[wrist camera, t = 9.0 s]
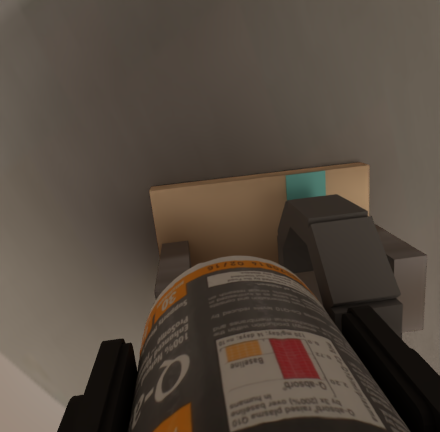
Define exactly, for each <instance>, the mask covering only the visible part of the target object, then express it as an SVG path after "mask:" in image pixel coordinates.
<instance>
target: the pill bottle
mask: <svg viewBox="0 0 440 432" xmlns="http://www.w3.org/2000/svg"><path fill="white" fill-rule="evenodd" d="M128 432H410V430H409V429H408V427H407V426H406V424H405V423H404V421H403V420H402V419H401V417H400V416H399V415H398V413H397V412H396V410H395V409H394V407H393V406H392V404H391V403H390V402H389V400H388V399H387V397H386V396H385V394H384V393H383V391H382V390H381V388H380V387H379V386H378V384H377V383H376V381H375V380H374V379H373V377H372V376H371V374H370V373H369V371H368V370H367V369H366V367H365V366H364V364H363V363H362V362H361V360H360V359H359V357H358V356H357V354H356V353H355V352H354V350H353V349H352V347H351V346H350V344H349V343H348V342H347V340H346V339H345V338H344V336H343V335H342V333H341V332H340V330H339V329H338V328H337V326H336V325H335V323H334V322H333V321H332V319H331V318H330V316H329V315H328V313H327V312H326V311H325V309H324V307H323V306H322V305H321V304H320V302H319V301H318V299H317V298H316V297H315V295H314V294H313V293H312V292H311V291H310V290H309V288H308V287H307V286H306V285H305V283H304V282H303V281H302V280H301V279H300V278H298V277H297V276H296V275H295V274H293V273H292V272H291V271H290V270H288V269H286V268H285V267H283V266H281V265H279V264H277V263H275V262H273V261H270V260H266V259H262V258H258V257H252V256H227V257H221V258H217V259H214V260H210V261H207V262H204V263H199V264H197V265H195V266H193V267H192V268H190V269H188V270H187V271H185V272H184V273H182V274H181V275H179V276H178V277H177V278H176V279H174V280H173V281H172V282H171V283H170V284H169V285H168V286H167V287H166V288H165V289H164V290H163V291H162V293H161V294H160V295H159V296H158V298H157V300H156V301H155V303H154V305H153V307H152V309H151V311H150V313H149V316H148V319H147V322H146V325H145V329H144V334H143V339H142V345H141V350H140V359H139V365H138V372H137V377H136V384H135V391H134V397H133V402H132V409H131V416H130V422H129V427H128Z"/></svg>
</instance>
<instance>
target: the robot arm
mask: <svg viewBox="0 0 440 432" xmlns="http://www.w3.org/2000/svg"><path fill="white" fill-rule="evenodd" d="M341 331H342V335H343V336H344V338H345V339H346V340H347V342H348V343H349V344H350V346H351V347H352V349H353V350H354V352H355V353H356V354H357V356H358V357H359V359H360V360H361V362H362V363H363V364H364V366H365V367H366V369H367V370H368V371H369V373H370V374H371V376H372V377H373V379H374V380H375V381H376V383H377V384H378V386H379V387H380V388H381V390H382V391H383V393H384V394H385V396H386V397H387V399H388V400H389V402H390V403H391V404H392V406H393V407H394V409H395V410H396V412H397V413H398V415H399V416H400V417H401V419H402V420H403V421H404V423H405V424H406V426H407V427H408V429H409V430H410V432H440V376H439V375H438V374H437V373H436V372H435V371H434V370H433V369H432V368H431V366H430V365H429V364H428V363H427V362H426V361H425V360H424V359H423V358H422V357H421V356H420V355H419V354H418V353H417V352H416V351H415V350H413V349H411V348H409V347H408V346H407V345H406V344H405V343H404V342H403V340H402V339H401V338H400V337H399V336H398V335H397V334H396V333H395V332H394V331H393V330H392V329H391V328H390V327H389V326H388V324H387V323H386V322H385V321H384V320H383V319H382V318H381V317H380V316H379V315H378V314H377V313H376V312H375V311H374V310H373V308H372V307H370V306H369V305H365V306H358V307H350V308H348V310H347V313H345V314H342V318H341ZM136 377H137V367H136V362H135V356H134V351H133V346H132V343H126V344H125V341H124V339H115V340H108V341H103V342H102V343H101V346H100V349H99V352H98V354H97V357H96V360H95V363H94V366H93V369H92V372H91V375H90V378H89V381H88V384H87V386H86V389H85V392H84V395H79V396H73V397H72V398H71V399H70V401H69V403H68V405H67V408H66V410H65V413H64V416H63V418H62V421H61V423H60V426H59V428H58V431H57V432H128V427H129V422H130V416H131V409H132V402H133V397H134V391H135V384H136Z"/></svg>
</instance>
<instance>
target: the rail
mask: <svg viewBox="0 0 440 432" xmlns="http://www.w3.org/2000/svg"><path fill="white" fill-rule="evenodd" d="M149 192H150V198H151V205H152V211H153V217H154V224H155V230H156V237H157V243H158V249H159V256H160V260H159V266H158V273H157V279H156V286H155V298H156V300H157V298H158V296H159V295H160V294H161V293H162V291H163V290H164V289H165V288H166V287H167V286H168V285H169V284H170V283H171V282H172V281H173V280H174V279H176V278H177V277H178V276H179V275H181V274H182V273H184V272H185V271H187V270H188V269H190V268H192V267H193V266H195V265H197V264H199V263H204V262H207V261H210V260H214V259H217V258H221V257H227V256H252V257H258V258H262V259H266V260H270V261H273V262H275V263H277V264H279V258H278V242H277V235H278V232H277V230H278V227H279V223H280V219H281V216H282V212H283V209H284V205H285V201H287V200H293V199H301V198H309V197H317V196H326V195H334V194H338V195H340V196H341V197H343V198H345V199H347V200H349V201H350V202H352V203H354V204H356V205H358V206H360V207H361V208H363V209H365V210H367V211H368V217H369V165H367V164H364V163H361V162H357V163H349V164H340V165H332V166H323V167H315V168H306V169H298V170H289V171H281V172H272V173H264V174H255V175H247V176H238V177H230V178H221V179H212V180H204V181H195V182H187V183H178V184H170V185H161V186H153V187H151V188H150V191H149ZM375 227H376V229H377V232H378V235H379V237H380V240H381V243H382V245H383V248H384V250H385V253H386V256H387V258H388V261H389V264H390V266H391V269H392V272H393V274H394V277H395V279H396V282H397V285H398V287H399V290H400V293H401V295H400V296H398V297H397V299H398V300H399V301H400V302H401V303H402V304H403V317H402V333H404V332H410V331H417V330H423V323H424V305H425V286H426V268H427V255H426V254H424V253H422V252H421V251H419V250H417V249H416V248H414V247H412V246H411V245H409V244H407V243H406V242H404V241H402V240H401V239H399V238H397V237H396V236H394V235H392V234H391V233H389V232H387V231H386V230H384V229H382V228H381V227H379V226H377V225H376V224H375ZM294 274H295V275H296V276H297V277H298V278H300V279H301V280H302V281H303V282H304V283H305V285H306V286H307V287H308V288H309V290H310V291H311V292H312V293H313V294H314V295H315V297H316V298H317V299H318V301H319V302H320V304H321V305H322V306H323V303H322V299H321V295H320V292H319V288H318V284H317V281H316V277H315V273H314V271H309V272H301V273H294Z"/></svg>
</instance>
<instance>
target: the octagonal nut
mask: <svg viewBox="0 0 440 432" xmlns="http://www.w3.org/2000/svg"><path fill="white" fill-rule="evenodd" d="M277 232H278V235H277V242H278V258H279V265H281V266H283V267H285V268H286V269H288V270H290V271H291V272H292V273H293V274H294V273H301V272H309V271H314V273H315V277H316V281H317V284H318V288H319V292H320V295H321V299H322V303H323V307H324V309H325V311H326V312H327V313H328V315H329V316H330V318H331V319H332V321H333V322H334V323H335V325H336V326H337V328H338V329H339V330H340V332H341V333H342V331H341V318H342V314H345V313H347V310H348V308H350V307H358V306H365V305H369V306H370V307H372V308H373V310H374V311H375V312H376V313H377V314H378V315H379V316H380V317H381V318H382V319H383V320H384V321H385V322H386V323H387V324H388V326H389V327H390V328H391V329H392V330H393V331H394V332H395V333H396V334H397V335H398V336H399V337H400V338H401V339H402V317H403V304H402V303H401V302H400V301H399V300H398V299H397V297H398V296H400V295H401V293H400V290H399V287H398V285H397V282H396V279H395V277H394V274H393V272H392V269H391V266H390V264H389V261H388V258H387V256H386V253H385V250H384V248H383V245H382V243H381V240H380V237H379V235H378V232H377V229H376V227H375V224H374V221H373V219H372V216H370V217H368V211H367V210H365V209H363V208H361V207H360V206H358V205H356V204H354V203H352V202H350V201H349V200H347V199H345V198H343V197H341V196H340V195H338V194H334V195H326V196H317V197H309V198H301V199H293V200H287V201H285V205H284V209H283V212H282V216H281V219H280V223H279V227H278V230H277Z"/></svg>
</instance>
